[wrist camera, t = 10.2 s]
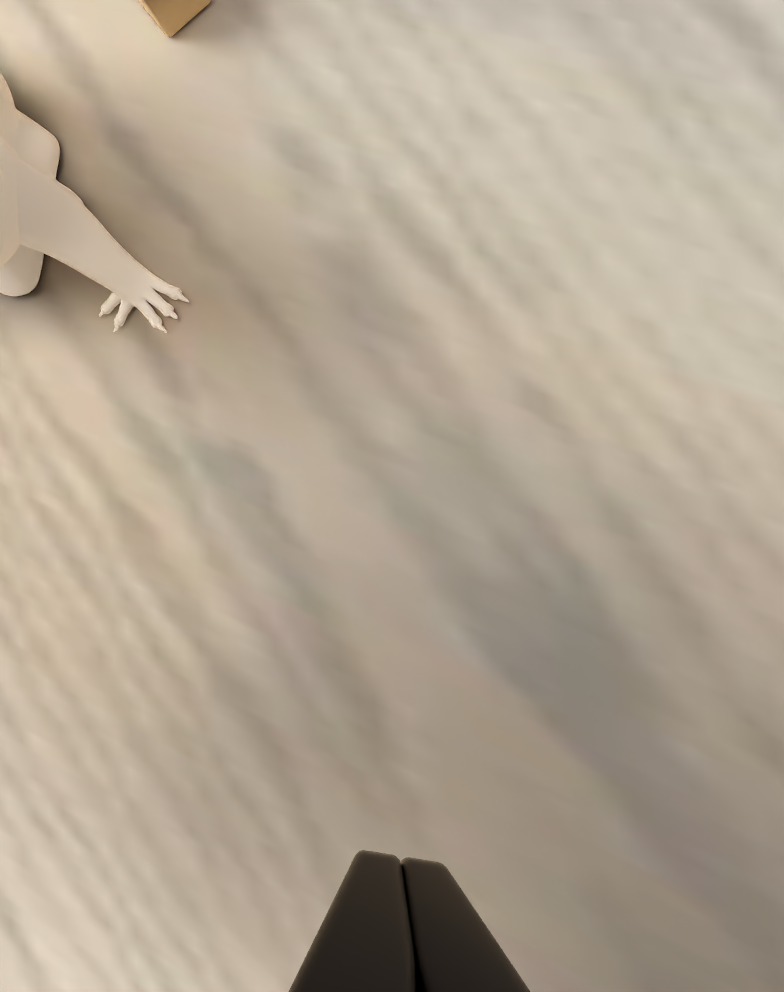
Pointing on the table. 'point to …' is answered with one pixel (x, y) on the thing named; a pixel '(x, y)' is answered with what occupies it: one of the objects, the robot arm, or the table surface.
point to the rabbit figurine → (61, 225)
